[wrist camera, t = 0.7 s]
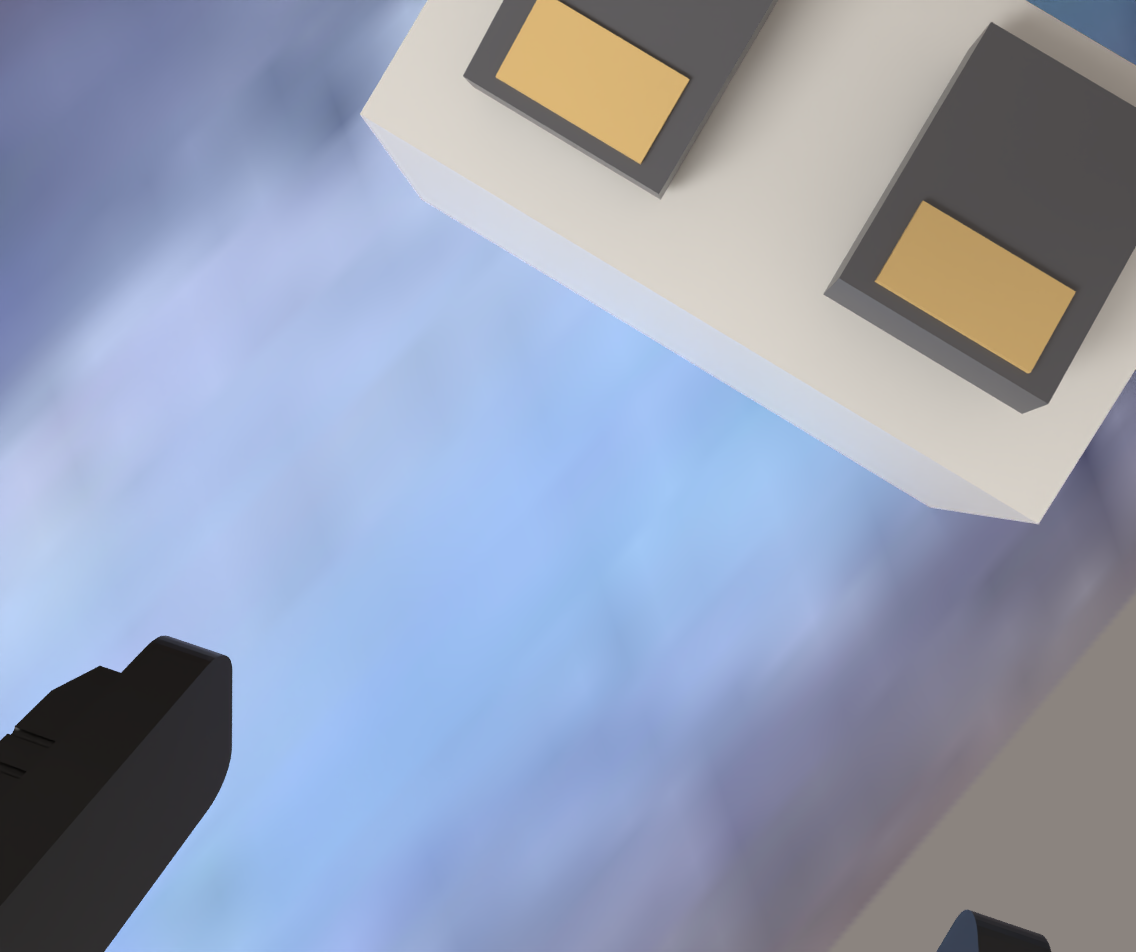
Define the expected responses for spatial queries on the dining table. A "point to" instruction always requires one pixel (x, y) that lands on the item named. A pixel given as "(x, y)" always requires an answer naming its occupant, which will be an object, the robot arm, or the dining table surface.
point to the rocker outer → (1002, 223)
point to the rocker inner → (618, 73)
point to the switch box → (772, 231)
